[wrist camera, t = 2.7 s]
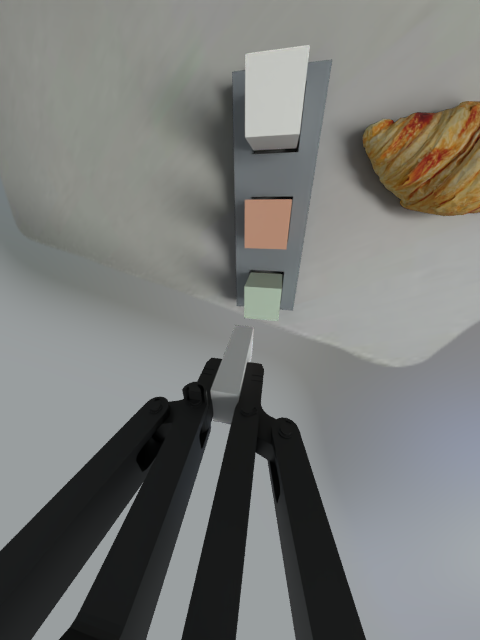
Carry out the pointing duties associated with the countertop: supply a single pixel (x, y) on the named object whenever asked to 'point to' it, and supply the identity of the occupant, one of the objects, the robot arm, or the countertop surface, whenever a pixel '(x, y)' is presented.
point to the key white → (275, 97)
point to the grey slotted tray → (277, 182)
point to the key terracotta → (267, 223)
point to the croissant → (430, 159)
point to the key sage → (262, 296)
